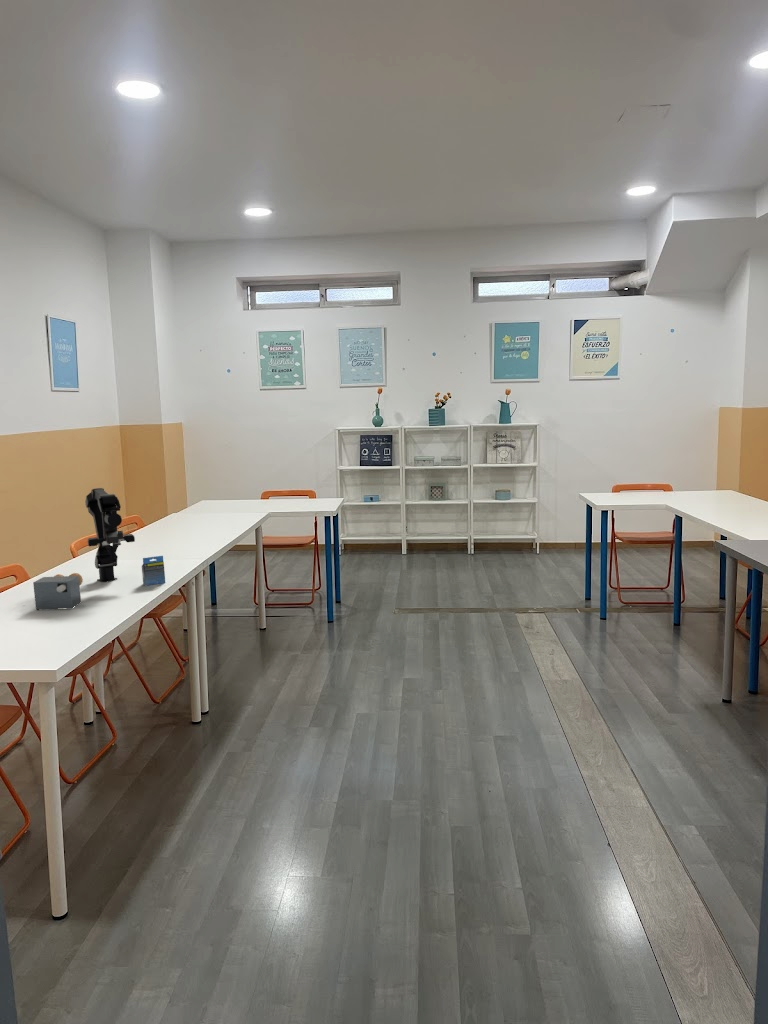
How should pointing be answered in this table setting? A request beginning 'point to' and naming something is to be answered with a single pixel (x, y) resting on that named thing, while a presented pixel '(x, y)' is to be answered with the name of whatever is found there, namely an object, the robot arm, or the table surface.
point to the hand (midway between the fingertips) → (112, 559)
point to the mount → (51, 598)
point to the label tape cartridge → (153, 570)
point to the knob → (64, 586)
